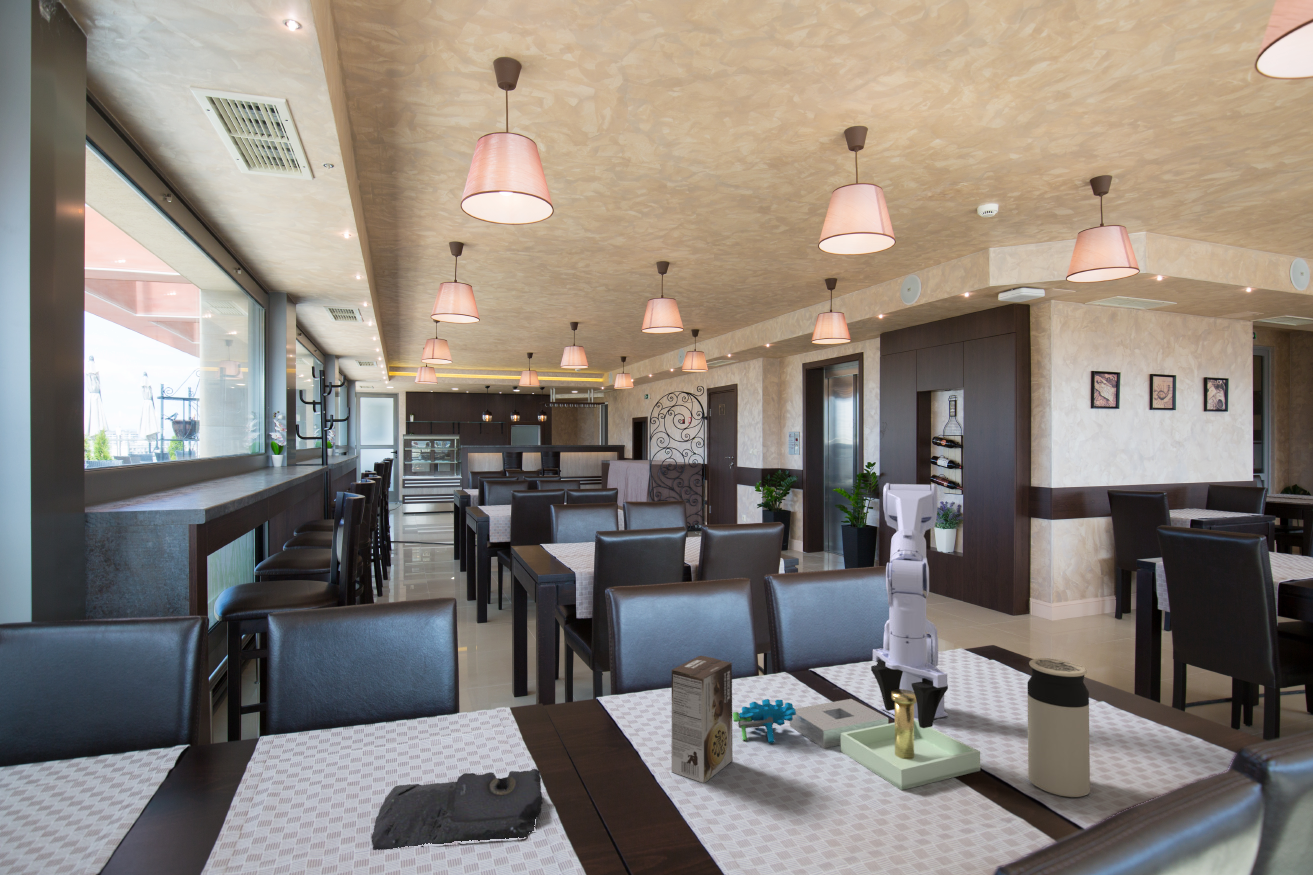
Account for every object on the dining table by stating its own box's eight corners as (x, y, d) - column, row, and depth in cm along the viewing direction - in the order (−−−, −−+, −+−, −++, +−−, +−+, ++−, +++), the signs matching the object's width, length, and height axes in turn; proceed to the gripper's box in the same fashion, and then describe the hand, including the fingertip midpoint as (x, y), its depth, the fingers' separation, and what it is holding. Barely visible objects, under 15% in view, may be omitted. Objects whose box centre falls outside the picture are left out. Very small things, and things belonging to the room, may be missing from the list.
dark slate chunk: (392, 794, 98) (392, 762, 98) (543, 784, 101) (544, 752, 101) (362, 857, 83) (362, 818, 83) (541, 843, 86) (541, 805, 86)
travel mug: (1069, 804, 95) (1068, 677, 96) (1016, 779, 102) (1015, 661, 103) (1101, 791, 99) (1100, 669, 99) (1048, 768, 106) (1047, 654, 106)
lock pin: (905, 747, 112) (905, 687, 112) (923, 757, 108) (922, 695, 108) (886, 751, 110) (886, 690, 111) (903, 762, 107) (903, 699, 107)
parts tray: (914, 735, 118) (914, 718, 118) (980, 770, 105) (980, 751, 105) (840, 751, 112) (840, 733, 112) (901, 790, 99) (901, 769, 99)
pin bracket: (851, 714, 128) (851, 698, 128) (888, 734, 118) (888, 717, 119) (789, 725, 122) (789, 709, 122) (823, 748, 113) (823, 730, 113)
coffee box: (699, 751, 112) (700, 654, 112) (733, 761, 108) (733, 661, 108) (669, 772, 104) (669, 668, 105) (704, 784, 101) (704, 676, 101)
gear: (795, 717, 122) (793, 692, 115) (801, 750, 118) (800, 726, 111) (735, 723, 123) (730, 698, 116) (738, 756, 119) (733, 733, 112)
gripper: (858, 625, 114) (858, 705, 114) (922, 648, 101) (923, 739, 101) (890, 621, 117) (891, 699, 117) (957, 643, 104) (957, 731, 103)
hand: (908, 717), depth 109 cm, fingers open, 7 cm apart
